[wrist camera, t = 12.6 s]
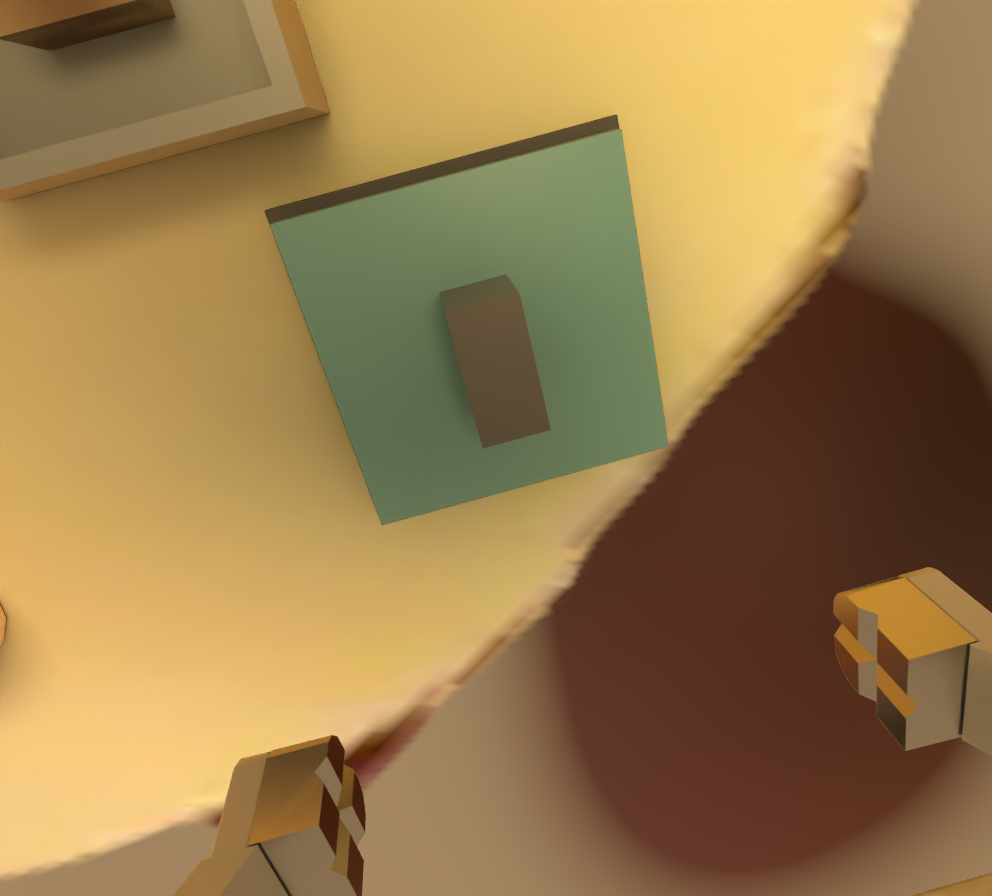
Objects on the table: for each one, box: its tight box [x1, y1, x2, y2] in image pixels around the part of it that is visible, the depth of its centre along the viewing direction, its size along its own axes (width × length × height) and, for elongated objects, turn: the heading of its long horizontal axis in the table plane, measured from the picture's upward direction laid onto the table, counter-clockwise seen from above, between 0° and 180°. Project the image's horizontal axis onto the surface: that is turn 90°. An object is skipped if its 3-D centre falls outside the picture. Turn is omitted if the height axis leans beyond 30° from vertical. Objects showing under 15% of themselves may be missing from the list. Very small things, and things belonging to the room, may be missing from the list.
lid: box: [270, 129, 668, 525], centre depth 31 cm, size 15×15×6 cm
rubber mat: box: [265, 115, 619, 514], centre depth 34 cm, size 16×16×1 cm
